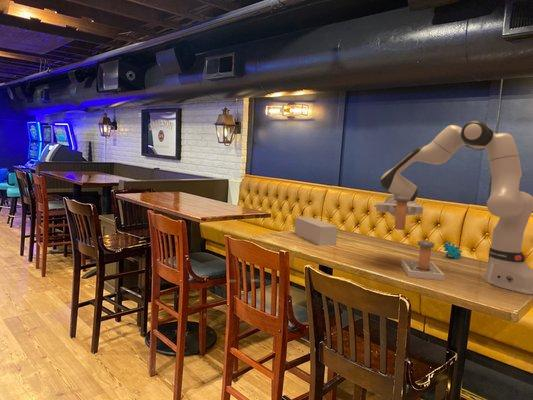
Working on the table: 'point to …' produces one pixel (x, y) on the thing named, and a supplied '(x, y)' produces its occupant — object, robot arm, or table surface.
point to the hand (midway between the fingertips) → (401, 210)
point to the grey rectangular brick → (316, 230)
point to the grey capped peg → (424, 254)
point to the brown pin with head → (401, 212)
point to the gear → (452, 250)
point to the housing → (414, 272)
